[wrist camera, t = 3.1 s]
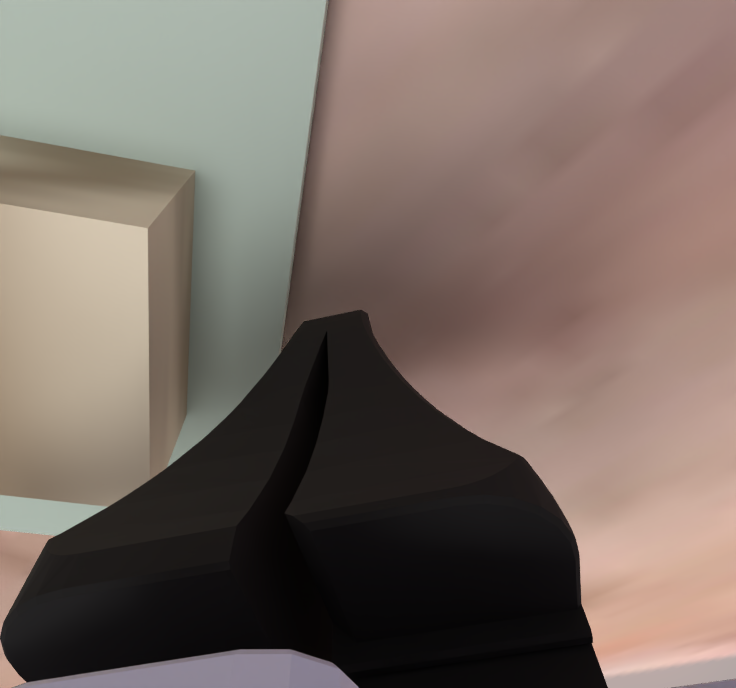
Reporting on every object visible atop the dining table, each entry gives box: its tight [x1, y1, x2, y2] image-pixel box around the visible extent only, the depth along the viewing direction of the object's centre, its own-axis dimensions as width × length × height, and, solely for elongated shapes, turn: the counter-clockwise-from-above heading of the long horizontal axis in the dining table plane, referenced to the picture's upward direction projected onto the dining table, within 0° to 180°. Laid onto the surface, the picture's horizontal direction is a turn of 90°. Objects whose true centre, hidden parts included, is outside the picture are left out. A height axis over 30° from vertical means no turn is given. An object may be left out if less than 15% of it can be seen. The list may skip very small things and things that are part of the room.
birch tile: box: [0, 135, 195, 507], centre depth 11 cm, size 6×6×3 cm
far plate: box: [0, 0, 329, 536], centre depth 13 cm, size 11×16×2 cm
